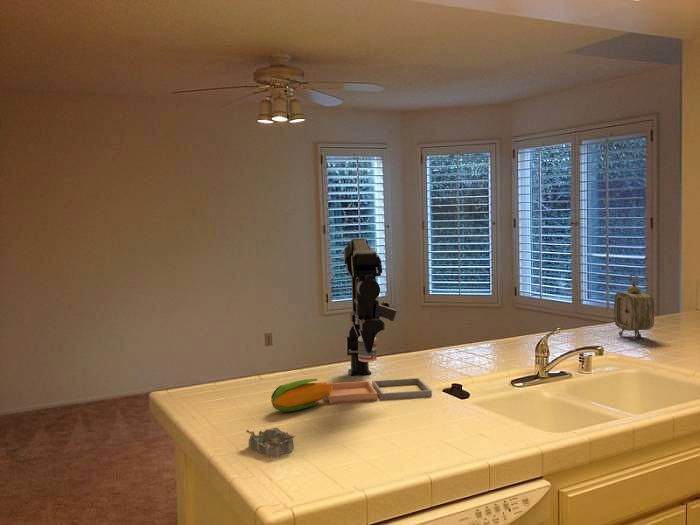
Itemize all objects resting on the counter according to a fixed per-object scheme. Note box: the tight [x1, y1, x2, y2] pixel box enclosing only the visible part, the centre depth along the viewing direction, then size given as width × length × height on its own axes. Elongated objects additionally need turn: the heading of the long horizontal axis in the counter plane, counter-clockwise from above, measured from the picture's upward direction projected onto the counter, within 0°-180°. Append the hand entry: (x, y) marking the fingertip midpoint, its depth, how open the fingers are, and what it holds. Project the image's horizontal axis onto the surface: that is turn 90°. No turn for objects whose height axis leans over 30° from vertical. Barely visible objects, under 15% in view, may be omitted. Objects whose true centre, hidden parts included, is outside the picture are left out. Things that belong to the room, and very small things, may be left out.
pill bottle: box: [358, 336, 378, 363], centre depth 184 cm, size 5×5×9 cm
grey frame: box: [371, 377, 433, 400], centre depth 188 cm, size 14×14×2 cm
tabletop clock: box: [613, 274, 655, 341], centre depth 255 cm, size 14×9×25 cm, turn 6°
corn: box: [270, 378, 333, 413], centre depth 174 cm, size 7×8×20 cm
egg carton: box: [245, 427, 296, 458], centre depth 144 cm, size 11×8×4 cm
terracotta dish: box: [325, 380, 378, 405], centre depth 184 cm, size 13×13×2 cm
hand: (367, 350), depth 185 cm, fingers closed on pill bottle, 5 cm apart
